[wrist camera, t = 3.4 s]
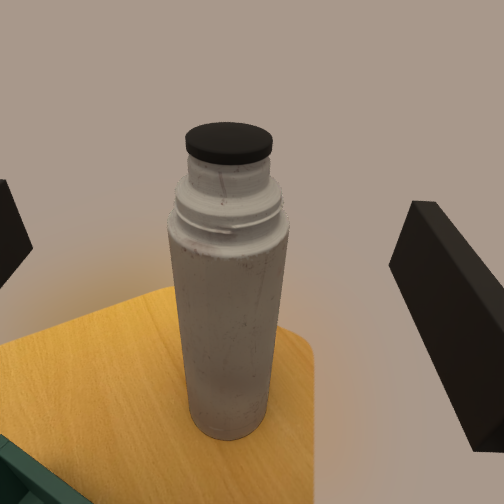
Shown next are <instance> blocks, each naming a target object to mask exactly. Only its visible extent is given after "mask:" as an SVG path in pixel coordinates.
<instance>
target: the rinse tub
mask: <svg viewBox="0 0 504 504" xmlns="http://www.w3.org/2000/svg"><path fill="white" fill-rule="evenodd" d="M0 504H93V503H92V502H91V501H89V500H88V499H87V498H85V497H84V496H83V495H81V494H80V493H79V492H77V491H76V490H75V489H73V488H72V487H71V486H69V485H68V484H67V483H66V482H64V481H63V480H62V479H60V478H59V477H58V476H56V475H55V474H54V473H52V472H51V471H50V470H48V469H47V468H46V467H44V466H43V465H42V464H40V463H39V462H38V461H36V460H35V459H34V458H32V457H31V456H30V455H28V454H27V453H26V452H24V451H23V450H22V449H20V448H19V447H18V446H17V445H15V444H14V443H13V442H11V441H10V440H9V439H7V438H6V437H5V436H3V435H2V434H0Z"/></svg>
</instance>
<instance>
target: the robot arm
mask: <svg viewBox="0 0 504 504" xmlns="http://www.w3.org/2000/svg"><path fill="white" fill-rule="evenodd" d="M32 249H33V247H32V244H31V242H30V239H29V237H28V234H27V232H26V229H25V227H24V224H23V222H22V219H21V217H20V214H19V212H18V209H17V207H16V204H15V202H14V199H13V197H12V194H11V192H10V189H9V187H8V184H7V182H6V180H3V179H0V288H1V287H2V286H3V285H4V283H5V282H6V281H7V280H8V279H9V278H10V276H11V275H12V274H13V273H14V271H15V270H16V269H17V268H18V267H19V265H20V264H21V263H22V262H23V260H24V259H25V258H26V257H27V256H28V254H29V253H30V252H31V251H32ZM389 267H390V270H391V272H392V274H393V276H394V278H395V281H396V283H397V285H398V287H399V289H400V291H401V294H402V296H403V298H404V300H405V303H406V305H407V307H408V309H409V311H410V313H411V316H412V318H413V320H414V322H415V325H416V327H417V329H418V331H419V333H420V336H421V338H422V340H423V342H424V344H425V347H426V348H427V351H428V353H429V355H430V358H431V360H432V362H433V364H434V366H435V369H436V371H437V373H438V375H439V377H440V379H441V382H442V384H443V386H444V388H445V390H446V393H447V395H448V397H449V399H450V402H451V404H452V406H453V408H454V410H455V413H456V415H457V417H458V419H459V421H460V424H461V426H462V428H463V430H464V432H465V435H466V437H467V439H468V441H469V443H470V446H471V448H472V450H473V452H499V453H504V288H503V287H502V285H501V284H500V283H499V282H498V280H497V279H496V278H495V276H494V275H493V274H492V273H491V271H490V270H489V269H488V268H487V266H486V265H485V264H484V263H483V261H482V260H481V259H480V257H479V256H478V255H477V254H476V253H475V251H474V250H473V249H472V247H471V246H470V245H469V244H468V242H467V241H466V240H465V239H464V237H463V236H462V235H461V234H460V232H459V231H458V230H457V228H456V227H455V226H454V225H453V223H452V222H451V221H450V219H449V218H448V217H447V216H446V214H445V213H444V212H443V211H442V209H441V208H440V207H439V206H438V204H437V203H436V202H429V201H412V203H411V206H410V209H409V212H408V214H407V217H406V220H405V222H404V225H403V228H402V230H401V233H400V236H399V239H398V241H397V244H396V247H395V249H394V252H393V255H392V257H391V260H390V263H389Z"/></svg>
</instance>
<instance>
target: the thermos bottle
mask: <svg viewBox="0 0 504 504" xmlns="http://www.w3.org/2000/svg"><path fill="white" fill-rule="evenodd" d="M185 139H186V150H187V152H188V153H189V157H188V174H187V175H186V176H184V177H183V178H182V179H181V180H180V181H179V182H178V183H177V186H176V189H175V194H176V198H175V201H174V209H173V210H172V212H171V213H170V215H169V218H168V222H167V224H168V225H167V227H168V237H169V245H170V253H171V261H172V269H173V278H174V286H175V294H176V302H177V311H178V319H179V327H180V335H181V343H182V351H183V360H184V368H185V376H186V384H187V392H188V400H189V409H190V413H191V417H192V419H193V421H194V423H195V424H196V426H197V427H198V428H199V429H200V430H201V431H202V432H204V433H205V434H206V435H208V436H210V437H212V438H215V439H220V440H234V439H239V438H242V437H244V436H246V435H248V434H249V433H251V432H253V431H254V430H255V429H256V428H257V427H258V426H259V424H260V423H261V421H262V420H263V418H264V415H265V413H266V407H267V401H268V393H269V384H270V377H271V369H272V361H273V353H274V345H275V337H276V329H277V321H278V314H279V306H280V297H281V290H282V282H283V274H284V266H285V258H286V250H287V242H288V234H289V220H288V217H287V215H286V213H285V211H284V210H283V209H282V207H283V204H284V201H283V197H282V191H281V187H280V185H279V183H278V182H277V181H276V180H275V179H274V178H273V177H271V176H270V175H269V174H270V158H269V157H268V156H269V155H270V154H271V151H272V144H273V139H272V136H271V134H270V133H268V132H267V131H266V130H264V129H262V128H259V127H257V126H253V125H249V124H243V123H234V122H219V123H210V124H204V125H200V126H198V127H195V128H193V129H191V130H190V131H189V132H188V133H187V134H186V136H185Z"/></svg>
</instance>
